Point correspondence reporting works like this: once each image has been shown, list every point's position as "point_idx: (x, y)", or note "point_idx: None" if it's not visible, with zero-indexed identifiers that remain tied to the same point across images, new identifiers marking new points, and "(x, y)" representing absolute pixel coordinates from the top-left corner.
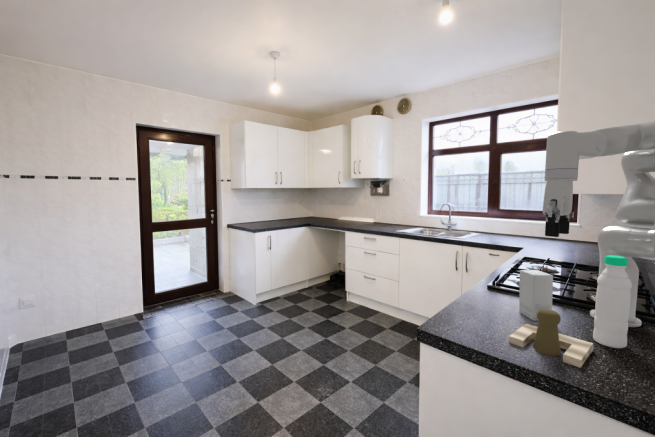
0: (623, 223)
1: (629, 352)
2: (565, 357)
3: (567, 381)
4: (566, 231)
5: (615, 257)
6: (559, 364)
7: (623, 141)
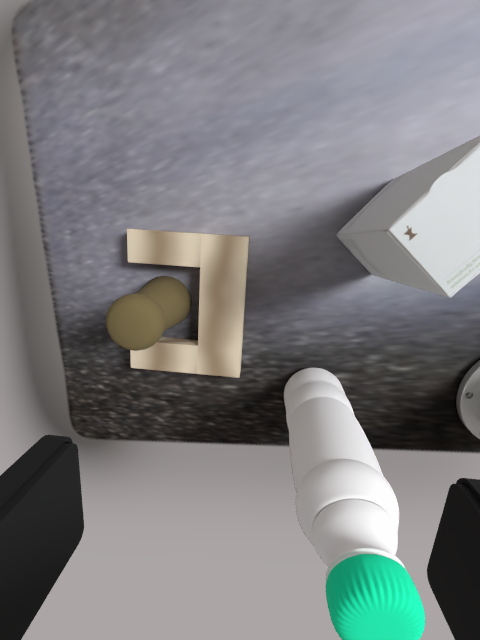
0: None
1: None
2: None
3: (67, 351)
4: (442, 594)
5: (347, 626)
6: None
7: None
